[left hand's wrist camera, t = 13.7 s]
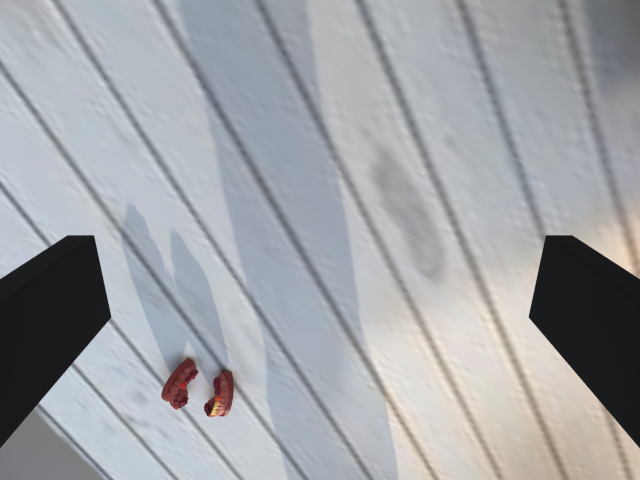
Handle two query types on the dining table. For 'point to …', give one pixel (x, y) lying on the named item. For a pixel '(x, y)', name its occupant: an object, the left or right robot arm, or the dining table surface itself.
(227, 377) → the dental model
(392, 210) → the dining table surface
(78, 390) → the dining table surface
